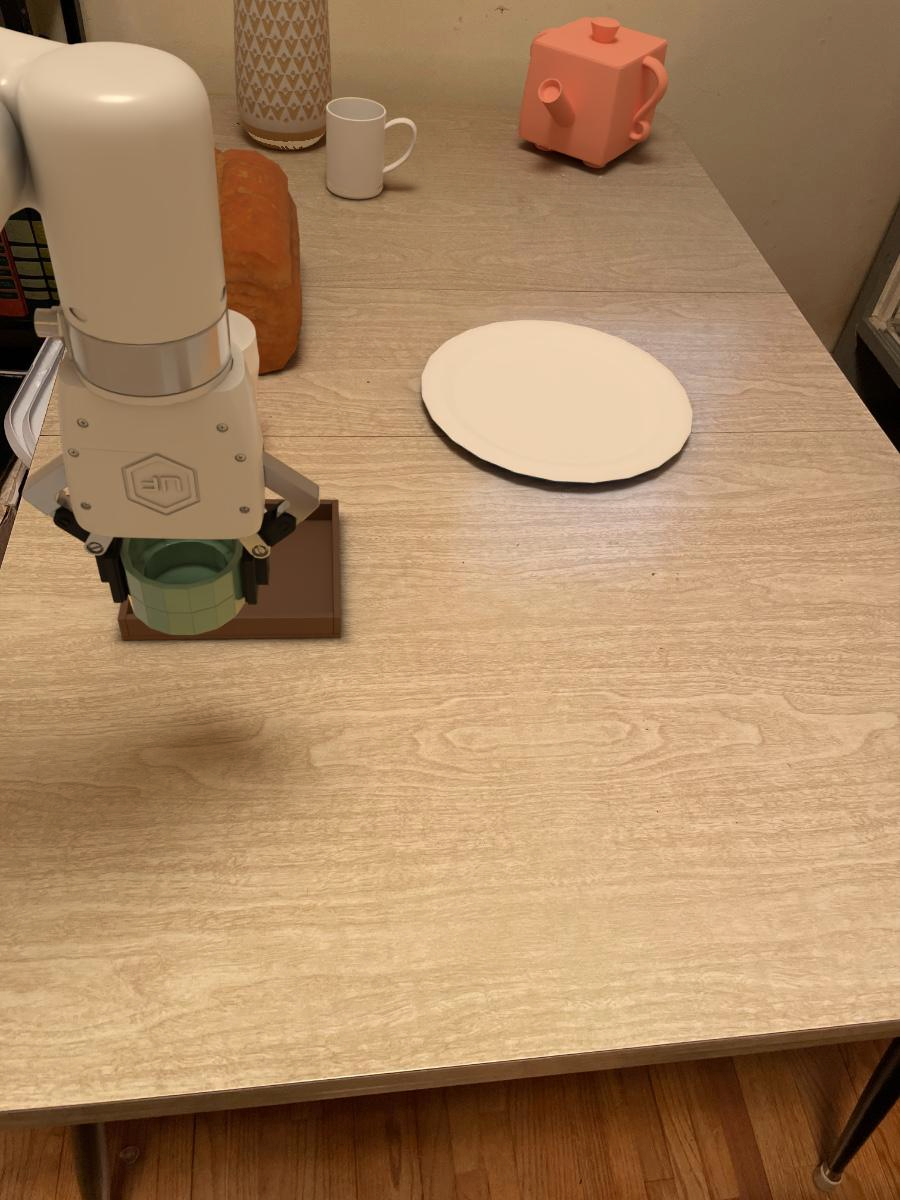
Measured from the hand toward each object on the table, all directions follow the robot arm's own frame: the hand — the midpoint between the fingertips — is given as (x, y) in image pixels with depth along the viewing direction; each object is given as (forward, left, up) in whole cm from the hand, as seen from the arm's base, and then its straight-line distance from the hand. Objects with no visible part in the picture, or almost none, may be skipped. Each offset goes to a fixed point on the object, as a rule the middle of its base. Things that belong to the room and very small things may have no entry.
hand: (189, 586), depth 60 cm
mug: (+15, +92, -16) cm, 94 cm away
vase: (+3, +108, -16) cm, 109 cm away
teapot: (+47, +108, -16) cm, 119 cm away
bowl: (0, 0, -1) cm, 1 cm away
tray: (+1, +16, -16) cm, 23 cm away
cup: (-2, +35, -16) cm, 38 cm away
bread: (-2, +59, -16) cm, 61 cm away
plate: (+33, +42, -16) cm, 55 cm away
